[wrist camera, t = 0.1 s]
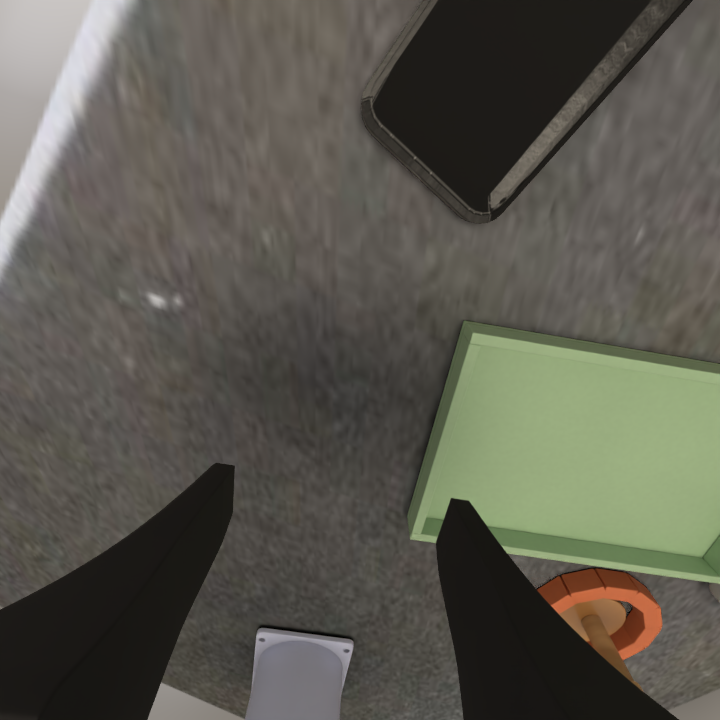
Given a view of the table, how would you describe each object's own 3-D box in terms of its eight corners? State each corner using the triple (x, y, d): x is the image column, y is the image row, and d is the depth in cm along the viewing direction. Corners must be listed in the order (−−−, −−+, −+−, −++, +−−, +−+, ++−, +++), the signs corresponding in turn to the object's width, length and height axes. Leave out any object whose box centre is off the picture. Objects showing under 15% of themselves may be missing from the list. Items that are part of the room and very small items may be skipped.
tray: (699, 558, 27) (724, 584, 25) (407, 515, 26) (409, 539, 24) (832, 382, 21) (875, 400, 19) (463, 320, 20) (472, 332, 18)
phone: (815, -137, 12) (483, 234, 17) (781, -111, 14) (476, 232, 18) (675, -386, 11) (347, 108, 16) (648, -334, 12) (349, 113, 17)
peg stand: (603, 634, 31) (649, 721, 26) (540, 626, 30) (574, 712, 25) (632, 592, 28) (688, 678, 23) (565, 583, 28) (607, 667, 23)
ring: (616, 652, 31) (668, 750, 26) (439, 629, 31) (454, 723, 25) (670, 578, 28) (744, 673, 22) (471, 549, 27) (496, 639, 22)
